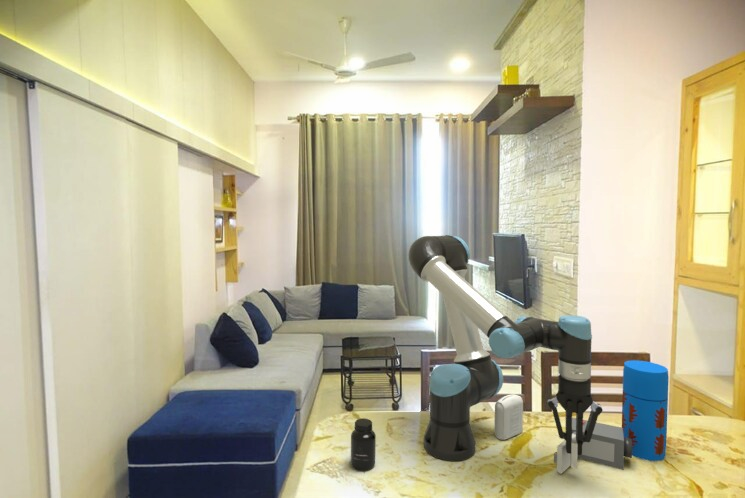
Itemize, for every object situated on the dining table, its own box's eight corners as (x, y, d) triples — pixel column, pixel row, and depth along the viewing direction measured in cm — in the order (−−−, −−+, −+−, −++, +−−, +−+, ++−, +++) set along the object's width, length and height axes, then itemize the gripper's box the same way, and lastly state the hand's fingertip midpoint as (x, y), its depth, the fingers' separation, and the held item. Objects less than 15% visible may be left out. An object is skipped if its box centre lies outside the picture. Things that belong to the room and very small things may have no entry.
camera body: (569, 456, 114) (570, 427, 113) (571, 443, 121) (571, 415, 120) (632, 472, 106) (633, 440, 106) (630, 456, 113) (630, 427, 113)
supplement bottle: (357, 474, 106) (357, 430, 105) (346, 461, 112) (346, 419, 111) (380, 467, 109) (379, 424, 109) (368, 455, 115) (368, 414, 115)
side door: (571, 455, 114) (571, 430, 113) (578, 458, 112) (578, 432, 112) (553, 471, 106) (554, 444, 106) (561, 474, 105) (561, 447, 105)
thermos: (661, 445, 119) (664, 363, 118) (670, 465, 109) (673, 375, 108) (618, 438, 124) (620, 358, 122) (623, 455, 114) (626, 369, 113)
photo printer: (513, 427, 131) (513, 389, 130) (524, 432, 127) (525, 394, 127) (492, 436, 125) (492, 397, 125) (503, 442, 122) (504, 402, 121)
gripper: (548, 378, 102) (547, 469, 103) (606, 384, 98) (604, 478, 99) (546, 369, 109) (545, 453, 110) (599, 374, 105) (598, 461, 106)
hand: (573, 465), depth 105 cm, fingers closed
